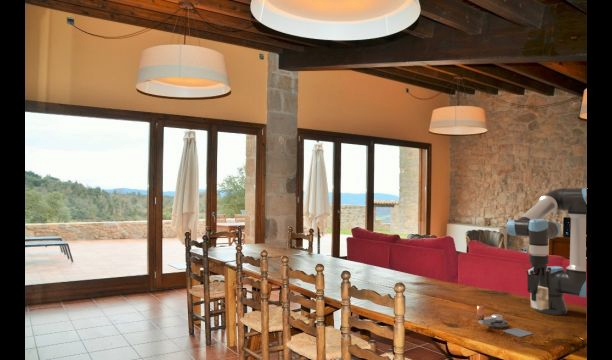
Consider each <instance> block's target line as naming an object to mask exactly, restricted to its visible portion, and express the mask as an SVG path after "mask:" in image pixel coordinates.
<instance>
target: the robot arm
mask: <svg viewBox="0 0 612 360" xmlns="http://www.w3.org/2000/svg"><path fill="white" fill-rule="evenodd" d="M556 211H566V212H567V215H568V216H569V218H570V238H569V239H570V242H569V243H570V244H569V249H570V250H569V265H568V266H566V267H565V270H564V267H562V266H557V265H556V266H555V265H553V266H549V265H548V264H549V240H551V239H552V240H553V239H555V238H557V237H558V236H559V235H560V234H561V232H562V229H561V226H560V224H558V223H557V222H555V221H548V220H547V219H545V218H546V217H547V216H548V215H549V214H552V213H555V212H556ZM505 229H506V233H507V234H508V235H510V236H515V237H525V238H526V237H527V238H528V246H529V248H528V249H529V251H528V252H529V255H528V257H529V258H528V260H529V261H528V262H529V263H530V264H531V266H530V269H526V275H527V279H526V280H527V287H526V288H527V293H531V300H532V309H533V310H535V311H536V312H538V313H541V314H546V315H551V316H552V315H556V316H563V315H567V313H568V308H567V305H566V302H565V299H564V295H570V296H575V297H580V298H587V297H586V187H581V188H580V187H578V188H576V187H572V188H571V187H569V188H568V187H566V188H565V187H561V188H556V189H553V190H550V191H548V192H546V193H545V194H543V195H541V197H539V198H538V201H537V202H536V204H534V205H533V206H532V207H531V208H530V209H528V210H527V211H526V212H524V214H522V215H521V216H520V217H519V218H518V219H509V220H508V221H507V223H506V227H505ZM547 265H548V266H547ZM538 286H542V287H546V288H548V309H544V310H539V302H538V294H537V289H538ZM531 300H530V301H531ZM535 308H536V309H535Z"/></svg>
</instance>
